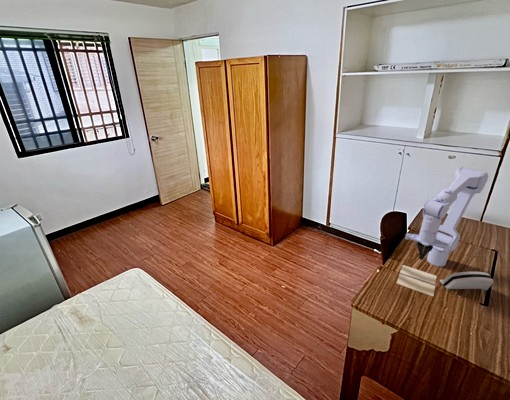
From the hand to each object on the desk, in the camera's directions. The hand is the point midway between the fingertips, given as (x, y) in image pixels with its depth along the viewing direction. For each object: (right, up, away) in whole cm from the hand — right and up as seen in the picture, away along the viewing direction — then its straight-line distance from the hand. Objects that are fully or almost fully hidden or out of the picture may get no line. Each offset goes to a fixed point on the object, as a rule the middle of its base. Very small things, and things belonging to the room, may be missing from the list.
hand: (421, 258), depth 112 cm
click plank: (-3, -11, -1) cm, 12 cm away
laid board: (+1, -9, +4) cm, 10 cm away
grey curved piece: (+16, -12, -2) cm, 20 cm away
